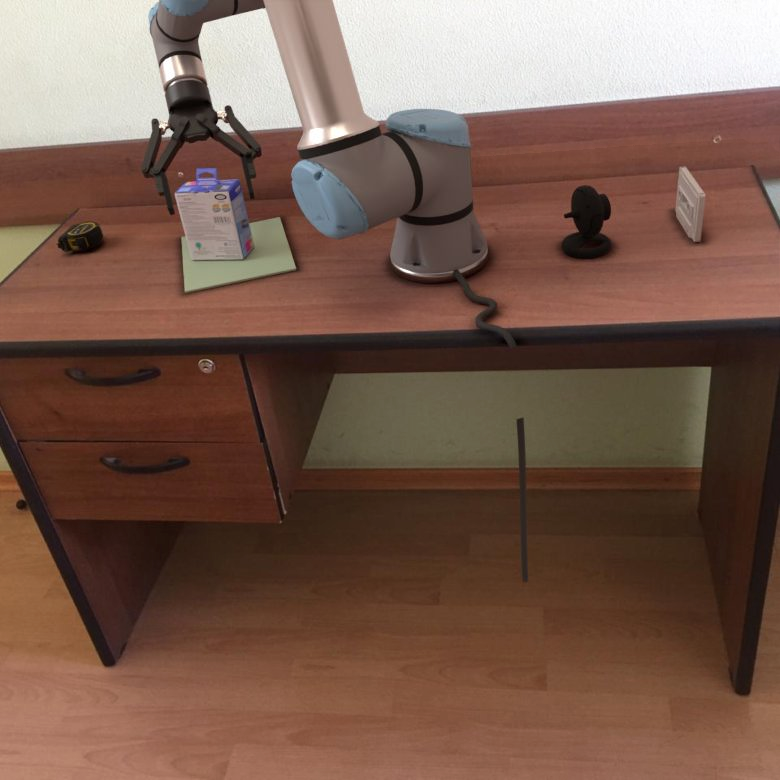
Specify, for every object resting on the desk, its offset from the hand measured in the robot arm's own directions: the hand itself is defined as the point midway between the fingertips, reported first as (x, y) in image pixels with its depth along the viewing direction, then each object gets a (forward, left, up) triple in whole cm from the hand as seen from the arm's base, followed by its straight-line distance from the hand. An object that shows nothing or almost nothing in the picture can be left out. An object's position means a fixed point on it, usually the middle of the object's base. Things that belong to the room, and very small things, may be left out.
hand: (212, 204), depth 140 cm
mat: (-3, -2, -8) cm, 9 cm away
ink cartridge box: (-3, 0, -8) cm, 9 cm away
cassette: (-27, -72, -8) cm, 78 cm away
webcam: (-27, -55, -8) cm, 62 cm away
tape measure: (+13, +25, -8) cm, 29 cm away
